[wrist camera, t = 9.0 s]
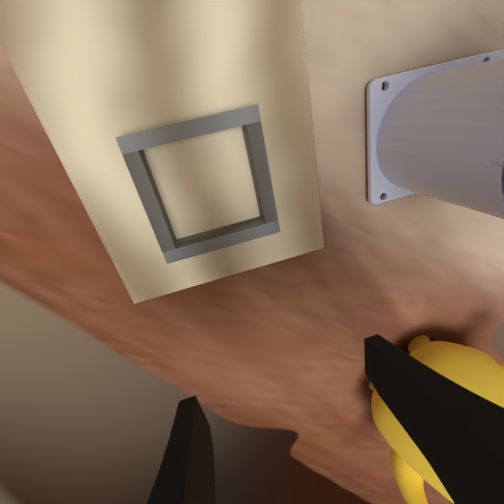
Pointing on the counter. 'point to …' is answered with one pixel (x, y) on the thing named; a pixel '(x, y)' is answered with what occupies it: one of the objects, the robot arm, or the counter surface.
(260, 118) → the socket board
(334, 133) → the counter surface
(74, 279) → the counter surface
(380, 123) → the robot arm
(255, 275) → the counter surface
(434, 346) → the teapot
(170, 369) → the counter surface
